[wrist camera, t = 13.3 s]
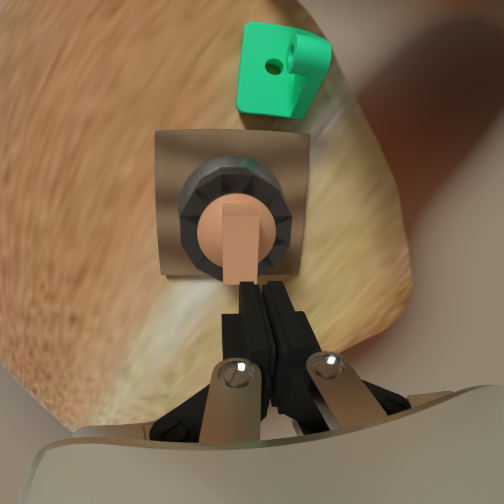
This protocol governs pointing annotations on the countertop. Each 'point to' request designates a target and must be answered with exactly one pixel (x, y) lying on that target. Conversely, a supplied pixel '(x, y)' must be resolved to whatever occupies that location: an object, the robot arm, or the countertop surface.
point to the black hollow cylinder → (225, 182)
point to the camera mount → (280, 70)
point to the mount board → (219, 144)
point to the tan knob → (236, 235)
